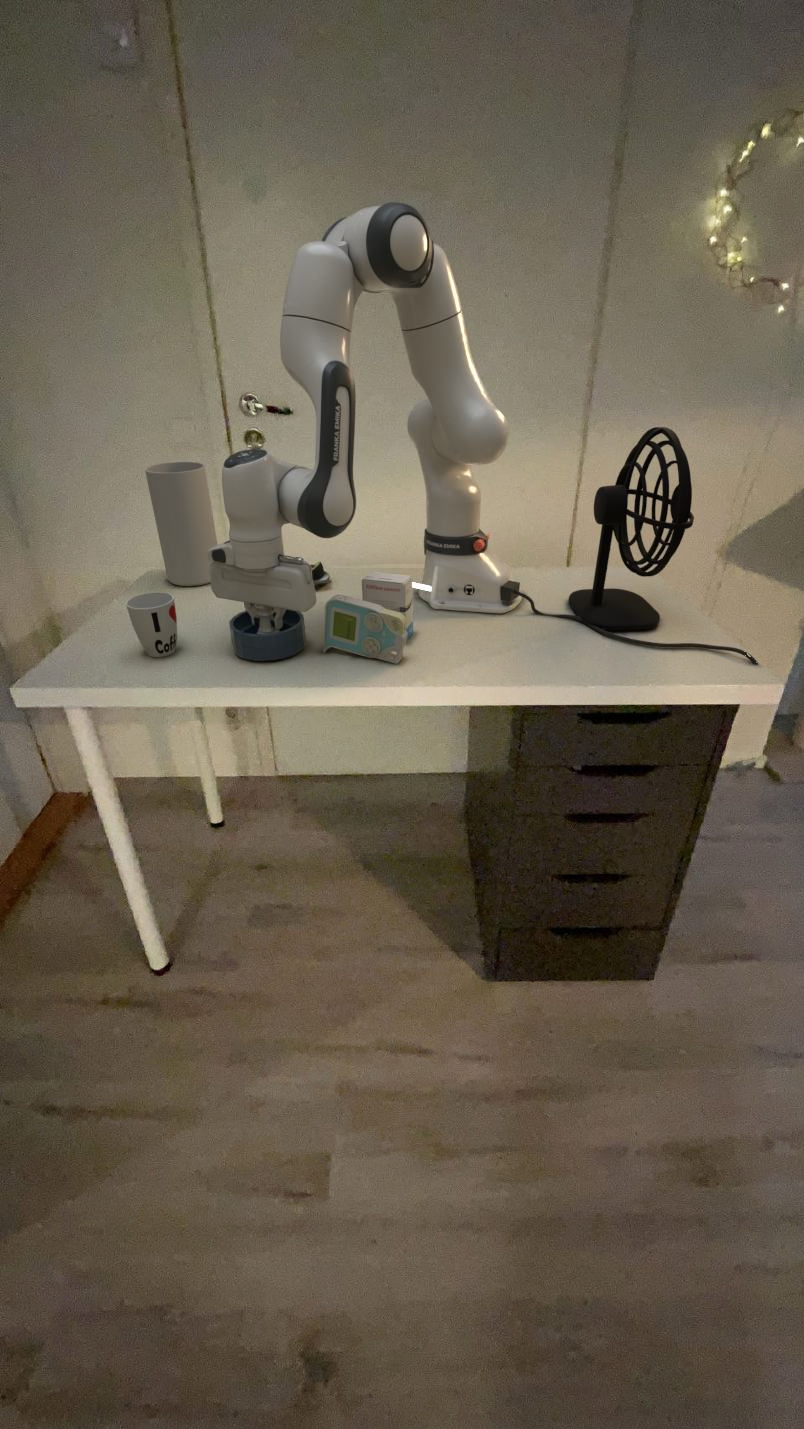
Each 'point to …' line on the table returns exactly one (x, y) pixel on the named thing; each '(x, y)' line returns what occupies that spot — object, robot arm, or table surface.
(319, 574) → the salad plate
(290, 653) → the bowl
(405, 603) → the ink box
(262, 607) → the rook chess piece
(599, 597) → the desk fan
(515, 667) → the table surface
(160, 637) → the cup
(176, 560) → the cylinder vase
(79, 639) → the table surface
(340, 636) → the handheld gaming console
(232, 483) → the robot arm
